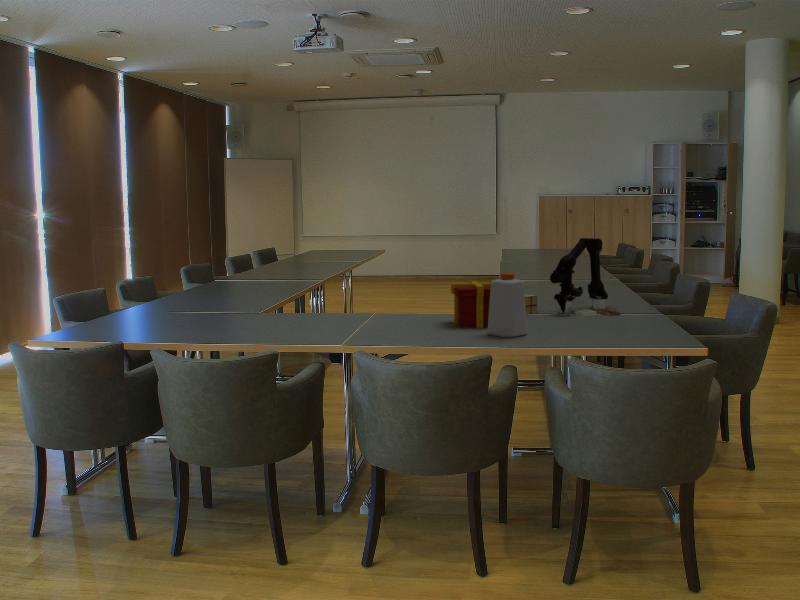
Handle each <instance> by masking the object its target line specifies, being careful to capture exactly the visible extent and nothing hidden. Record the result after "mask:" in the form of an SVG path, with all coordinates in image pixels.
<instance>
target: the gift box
mask: <svg viewBox="0 0 800 600" xmlns="http://www.w3.org/2000/svg"><path fill="white" fill-rule="evenodd" d="M490 290H491V282H483V283H482V282H478V281H477V280H470V281H469V283H450V294H452V295H453V296H454V297H453V298H454V299H453V301H454V302H453V309H454V314H453V318H454V320H453V322H454V323H453V324H454V326H458V327H459V328H460V329H462V328H463V329H465V328H466V329H467V328H468V329H469V328H476V329H484V328H488V317H489V303H490Z"/></svg>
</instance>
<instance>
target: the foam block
mask: <svg viewBox="0 0 800 600" xmlns="http://www.w3.org/2000/svg"><path fill="white" fill-rule="evenodd" d="M574 287H575V286H574ZM578 287H579V286H578ZM578 287H577V286H576V287H575V288H578ZM574 297H575V296H574ZM582 298H583V297H582V295H581V297H576V298H575V299H574V300H573V301H572V303H582V302H583V301H582Z"/></svg>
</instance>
